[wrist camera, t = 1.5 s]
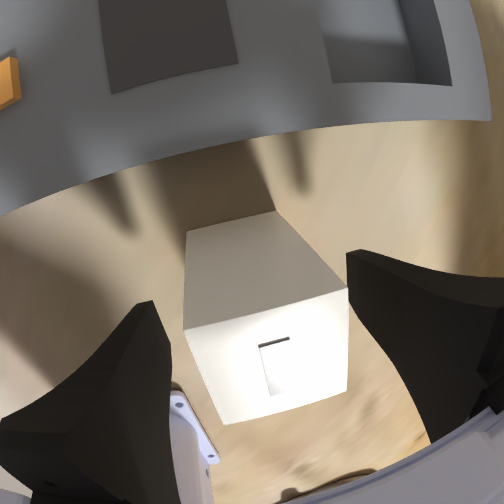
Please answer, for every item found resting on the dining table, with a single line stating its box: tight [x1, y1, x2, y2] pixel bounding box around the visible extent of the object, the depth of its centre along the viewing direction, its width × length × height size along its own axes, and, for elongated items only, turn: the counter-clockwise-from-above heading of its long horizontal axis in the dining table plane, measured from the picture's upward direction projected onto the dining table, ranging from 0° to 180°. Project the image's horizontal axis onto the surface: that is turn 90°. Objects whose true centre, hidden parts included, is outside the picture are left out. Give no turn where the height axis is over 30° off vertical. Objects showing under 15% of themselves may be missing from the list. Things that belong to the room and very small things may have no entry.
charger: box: [183, 211, 348, 425], centre depth 11 cm, size 4×4×7 cm
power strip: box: [0, 0, 492, 216], centre depth 8 cm, size 28×9×4 cm, turn 100°
